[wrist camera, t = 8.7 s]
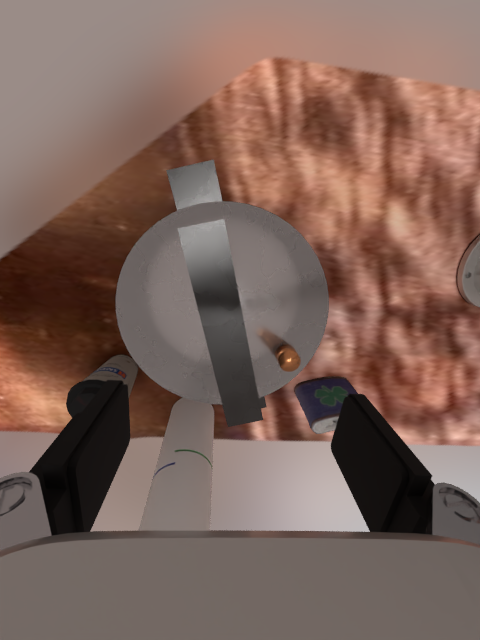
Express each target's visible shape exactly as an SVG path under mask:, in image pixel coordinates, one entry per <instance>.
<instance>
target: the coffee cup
mask: <svg viewBox="0 0 480 640" xmlns="http://www.w3.org/2000/svg"><path fill="white" fill-rule="evenodd" d="M137 372H138V366H137V364H136V362H135V361H134V360H133V359H132V358H130V357H128V356H125V355H117V356H114V357H112V358H111V359H109V360H108V361H107V362H106V363H104V364H103V365H102V366H101V367H99V368H98V369H97V370H96V371H94V372H93V373H92V374H91V375H89V376H88V377H87V378H86V379H84V380H83V381H82V382H79V383H77V384H76V385H74V386H73V387H72V388H71V390H70V391H69V393H68V397H67V403H66V405H67V410H68V412H69V414H70V415H71V417H72V418H73V417H74V416H75V415H76V414H77V413H79V412H82V411H83V410H84V409H85V408H86V406H87V405H88V404H89V402H90V401H91V400H92V399H93V397H94V396H95V395H96V393H97V392H98V391H99V390H100V388H101V387H102V386H103V384H104V383H105V382H106V381H107V380H122V381H123V383H124V384H127V385H128V398H129V396H130V393H131V390H132V387H133V384H134V381H135V378H136V375H137Z"/></svg>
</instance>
